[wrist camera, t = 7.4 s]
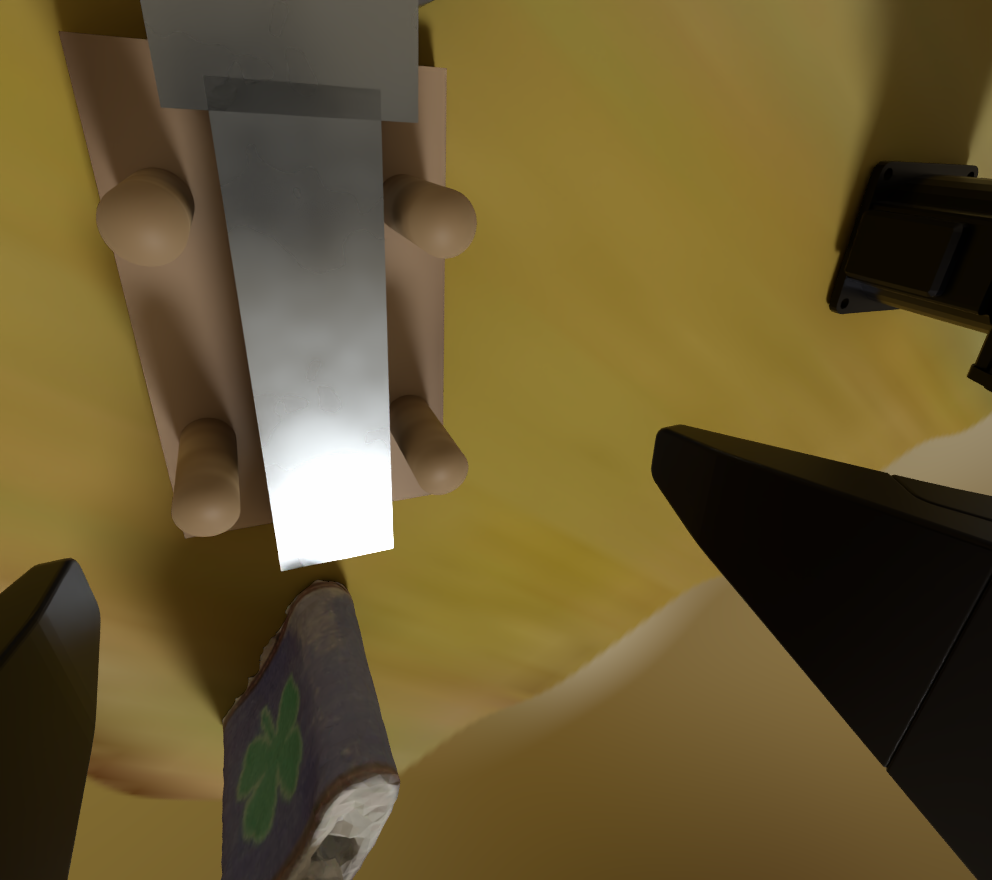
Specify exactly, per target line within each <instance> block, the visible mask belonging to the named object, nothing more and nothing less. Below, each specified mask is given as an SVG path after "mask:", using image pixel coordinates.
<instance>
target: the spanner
mask: <svg viewBox="0 0 992 880" xmlns="http://www.w3.org/2000/svg"><path fill="white" fill-rule="evenodd" d="M140 3H141V8H142V13H143V18H144V23H145V28H146V34H147V39H148V44H149V49H150V54H151V60H152V65H153V70H154V75H155V80H156V85H157V91H158V96H159V101H160V106H161V108H175V109H192V110H208V111H209V117H210V123H211V130H212V136H213V142H214V149H215V155H216V161H217V168H218V174H219V180H220V187H221V193H222V199H223V206H224V212H225V219H226V225H227V231H228V238H229V244H230V250H231V257H232V263H233V269H234V276H235V282H236V288H237V295H238V301H239V307H240V314H241V320H242V326H243V333H244V339H245V345H246V352H247V358H248V364H249V371H250V377H251V383H252V390H253V396H254V402H255V409H256V415H257V421H258V428H259V434H260V440H261V447H262V453H263V459H264V466H265V472H266V478H267V485H268V491H269V497H270V504H271V510H272V516H273V523H274V529H275V535H276V542H277V548H278V554H279V561H280V567H281V571H285V570H290V569H295V568H300V567H305V566H310V565H314V564H319V563H324V562H329V561H334V560H339V559H344V558H349V557H353V556H358V555H363V554H368V553H373V552H378V551H383V550H388V549H392V548H393V524H392V488H391V452H390V416H389V380H388V345H387V309H386V273H385V237H384V201H383V166H382V130H381V121H393V122H410V123H418V0H140Z"/></svg>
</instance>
